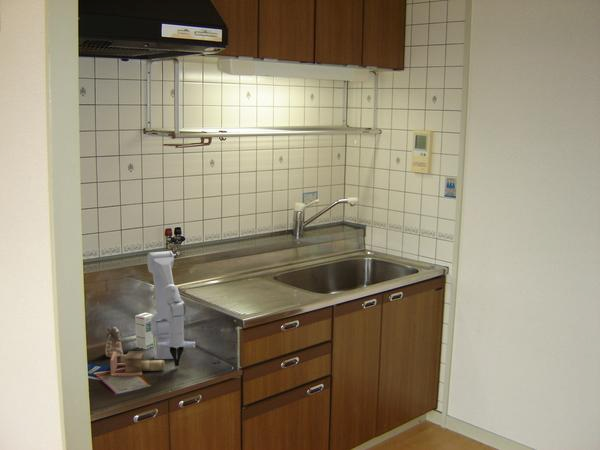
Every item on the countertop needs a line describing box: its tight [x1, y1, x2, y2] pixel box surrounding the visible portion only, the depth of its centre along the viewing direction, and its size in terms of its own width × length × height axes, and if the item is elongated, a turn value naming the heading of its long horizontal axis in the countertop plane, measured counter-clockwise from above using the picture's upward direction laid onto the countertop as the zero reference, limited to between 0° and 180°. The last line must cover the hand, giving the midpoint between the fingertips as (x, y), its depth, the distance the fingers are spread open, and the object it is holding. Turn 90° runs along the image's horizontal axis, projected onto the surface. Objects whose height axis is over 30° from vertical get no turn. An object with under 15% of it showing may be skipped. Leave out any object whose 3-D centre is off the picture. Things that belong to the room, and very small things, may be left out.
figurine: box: [104, 326, 124, 358], centre depth 294 cm, size 7×7×12 cm
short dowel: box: [120, 354, 127, 363], centre depth 287 cm, size 8×3×3 cm
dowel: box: [141, 359, 166, 372], centre depth 278 cm, size 12×4×4 cm, turn 96°
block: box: [124, 350, 145, 374], centre depth 277 cm, size 6×9×6 cm, turn 7°
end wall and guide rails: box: [109, 352, 143, 377], centre depth 277 cm, size 12×12×6 cm
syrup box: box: [134, 312, 155, 350], centre depth 304 cm, size 6×6×14 cm
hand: (177, 365), depth 279 cm, fingers closed
